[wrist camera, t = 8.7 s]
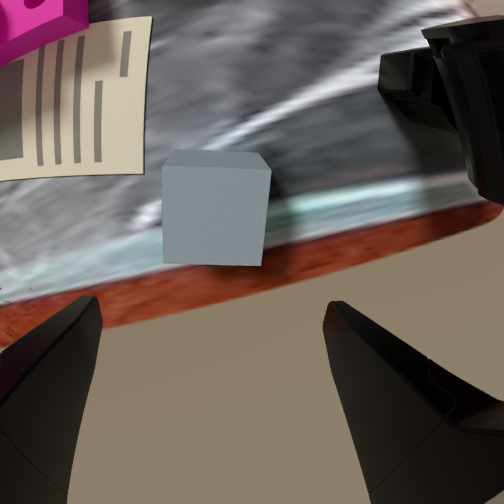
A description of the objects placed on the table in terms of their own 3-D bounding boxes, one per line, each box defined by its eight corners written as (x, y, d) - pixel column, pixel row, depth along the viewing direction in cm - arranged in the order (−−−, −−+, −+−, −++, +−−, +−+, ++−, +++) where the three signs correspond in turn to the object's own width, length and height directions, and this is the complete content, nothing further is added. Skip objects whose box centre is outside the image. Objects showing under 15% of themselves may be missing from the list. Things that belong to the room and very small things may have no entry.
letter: (152, 16, 14) (151, 16, 14) (143, 173, 18) (142, 173, 18) (-4, 48, 12) (-5, 48, 12) (-4, 180, 17) (-4, 181, 16)
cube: (258, 152, 19) (271, 170, 14) (251, 227, 21) (261, 265, 16) (175, 149, 18) (161, 166, 13) (174, 225, 20) (164, 263, 16)
